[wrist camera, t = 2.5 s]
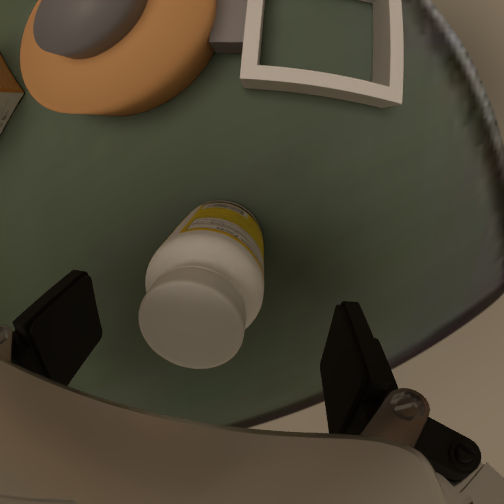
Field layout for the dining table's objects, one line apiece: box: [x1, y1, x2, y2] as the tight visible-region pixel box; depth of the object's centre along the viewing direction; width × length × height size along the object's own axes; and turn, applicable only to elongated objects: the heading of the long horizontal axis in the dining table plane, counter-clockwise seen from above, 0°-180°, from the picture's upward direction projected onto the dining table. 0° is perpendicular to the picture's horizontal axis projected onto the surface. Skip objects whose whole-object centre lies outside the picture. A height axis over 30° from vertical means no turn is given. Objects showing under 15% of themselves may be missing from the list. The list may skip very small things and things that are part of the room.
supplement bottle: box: [138, 200, 264, 369], centre depth 15 cm, size 5×5×10 cm
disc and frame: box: [20, 0, 403, 116], centre depth 11 cm, size 12×22×7 cm, turn 86°
